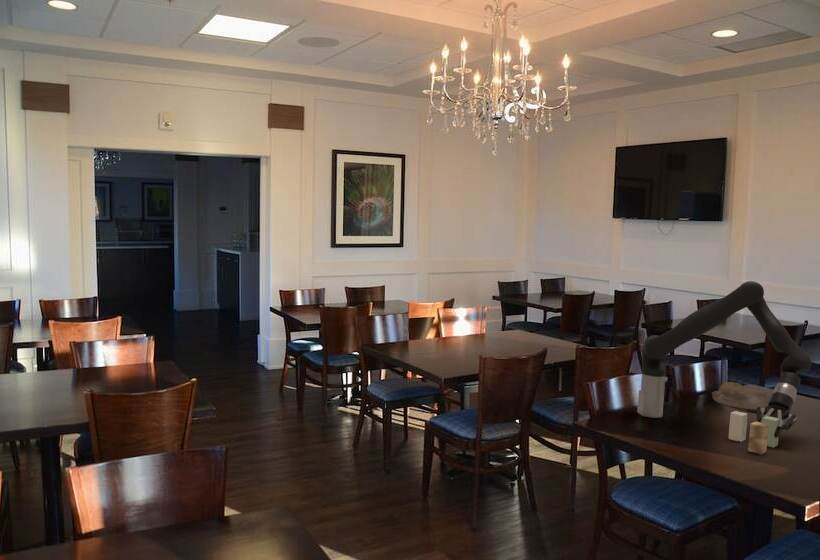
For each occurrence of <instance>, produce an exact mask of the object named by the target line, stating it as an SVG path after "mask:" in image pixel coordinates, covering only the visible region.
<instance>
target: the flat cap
mask: <svg viewBox="0 0 820 560" xmlns="http://www.w3.org/2000/svg"><path fill="white" fill-rule="evenodd" d="M711 396H712V400H713V401H714V402H715V403H718V404H719V405H723V406H725V407H727V408H732V409H734V410H735V409H736V410H739V411H744V412H752V413H757V407H760V408H765V407H767V406H768V403H769V401H770V398H771V396H769V395H767V393H765V392H763V391H760V390H758V389H755V388H752V387H746V386H744V385H742V384H741V383H738V382H733V381H731V382H730V381H725V382H723V383H722V384H721V386H719V388H718V390H714V391H712V392H711Z"/></svg>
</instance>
